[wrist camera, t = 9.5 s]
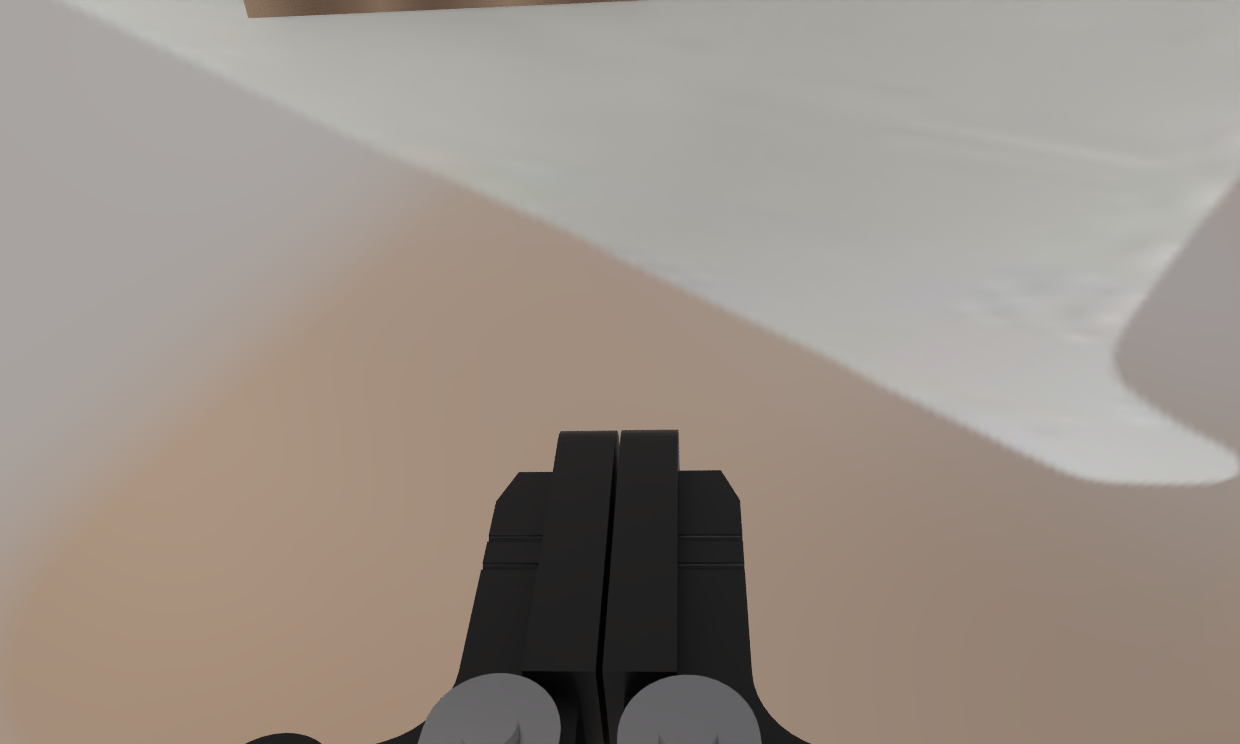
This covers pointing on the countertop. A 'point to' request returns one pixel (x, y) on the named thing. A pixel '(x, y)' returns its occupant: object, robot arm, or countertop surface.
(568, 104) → the countertop surface
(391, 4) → the board
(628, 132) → the countertop surface
